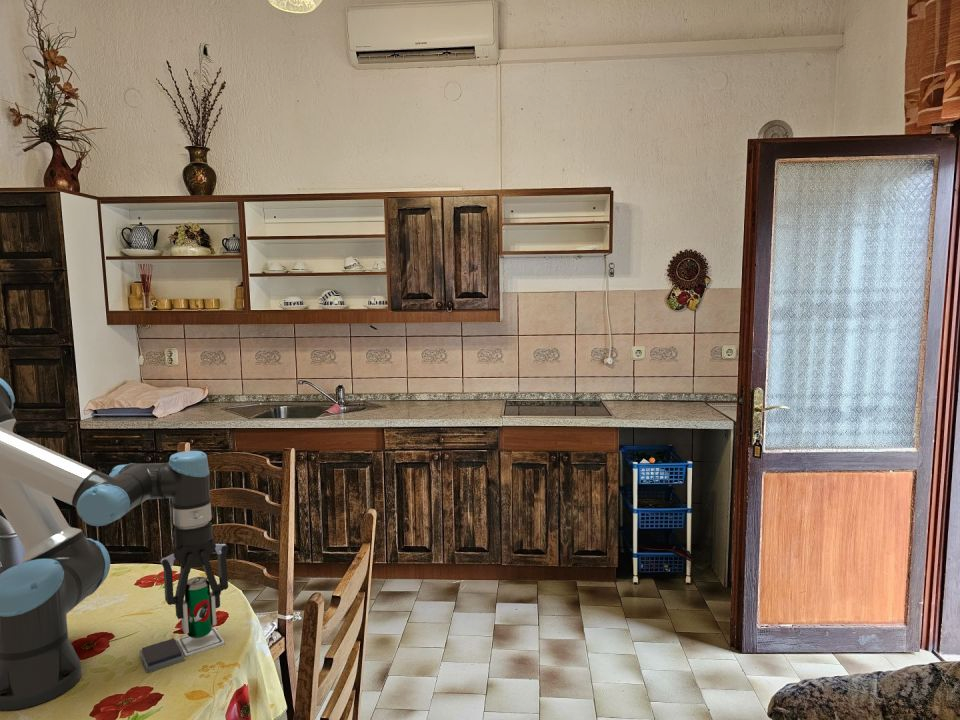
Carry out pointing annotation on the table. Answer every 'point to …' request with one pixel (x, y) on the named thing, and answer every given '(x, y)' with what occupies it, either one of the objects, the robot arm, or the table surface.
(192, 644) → the print card
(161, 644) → the ink pad
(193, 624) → the soda can
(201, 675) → the table surface
